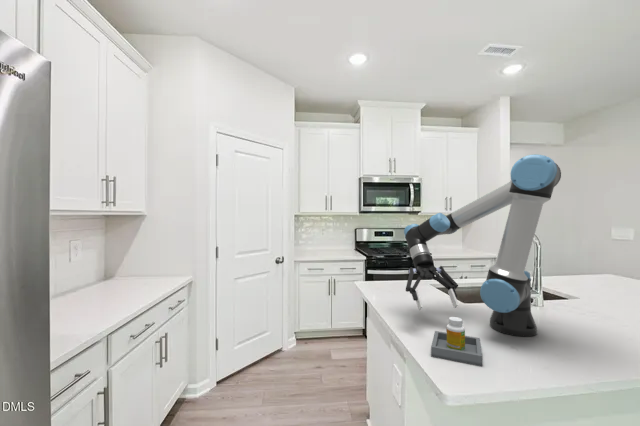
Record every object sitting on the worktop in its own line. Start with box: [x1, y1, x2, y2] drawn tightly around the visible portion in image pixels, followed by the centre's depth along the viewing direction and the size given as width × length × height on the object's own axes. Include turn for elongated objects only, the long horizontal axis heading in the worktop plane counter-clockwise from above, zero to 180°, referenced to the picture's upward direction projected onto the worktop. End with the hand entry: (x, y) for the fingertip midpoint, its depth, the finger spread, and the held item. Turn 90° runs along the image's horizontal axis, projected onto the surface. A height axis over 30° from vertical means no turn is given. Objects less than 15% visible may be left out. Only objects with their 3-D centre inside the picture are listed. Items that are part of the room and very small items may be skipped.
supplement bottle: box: [446, 316, 466, 351], centre depth 95 cm, size 5×5×10 cm
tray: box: [430, 330, 483, 367], centre depth 95 cm, size 14×14×3 cm
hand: (438, 307), depth 108 cm, fingers open, 13 cm apart
